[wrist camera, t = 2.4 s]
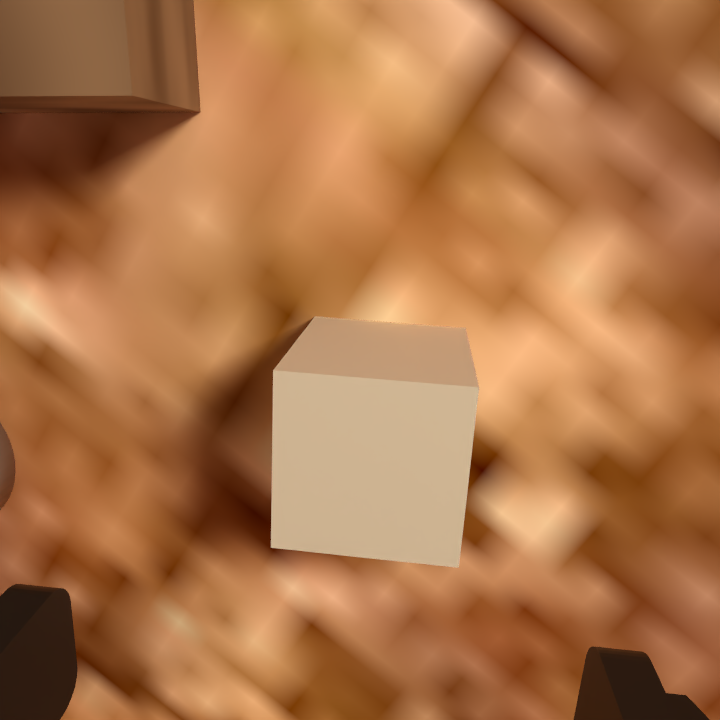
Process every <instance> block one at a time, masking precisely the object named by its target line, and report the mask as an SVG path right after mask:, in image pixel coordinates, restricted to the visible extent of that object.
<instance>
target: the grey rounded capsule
mask: <svg viewBox="0 0 720 720" xmlns="http://www.w3.org/2000/svg"><path fill="white" fill-rule="evenodd" d="M14 481H15V459H14V453H13V449H12V446H11V443H10V440H9V438H8V436H7V434H6V432H5V430H4V428H3V426H2V425H1V423H0V510H1V508H2V507H3V506H4V505H5V503H6V502H7V500H8V499H9V497H10V494H11V492H12V489H13V485H14Z"/></svg>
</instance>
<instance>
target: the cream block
mask: <svg viewBox="0 0 720 720" xmlns="http://www.w3.org/2000/svg"><path fill="white" fill-rule="evenodd" d="M478 392H479V385H478V380H477V376H476V371H475V367H474V362H473V358H472V353H471V349H470V345H469V340H468V336H467V331H466V328H462V327H448V326H435V325H422V324H408V323H395V322H382V321H368V320H355V319H342V318H328V317H314V318H313V320H312V321H311V322H310V323H309V325H308V326H307V327H306V329H305V330H304V331H303V332H302V334H301V335H300V336H299V338H298V339H297V340H296V341H295V343H294V344H293V345H292V347H291V348H290V349H289V351H288V352H287V353H286V354H285V356H284V357H283V358H282V360H281V361H280V362H279V363H278V365H277V366H276V367H275V369H274V370H273V421H272V502H271V548H279V549H288V550H298V551H307V552H316V553H326V554H335V555H344V556H354V557H363V558H372V559H382V560H391V561H401V562H410V563H419V564H429V565H438V566H447V567H457V568H459V561H460V552H461V543H462V534H463V525H464V517H465V508H466V499H467V490H468V481H469V472H470V463H471V454H472V446H473V437H474V428H475V419H476V410H477V401H478Z"/></svg>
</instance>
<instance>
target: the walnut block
mask: <svg viewBox="0 0 720 720" xmlns="http://www.w3.org/2000/svg"><path fill="white" fill-rule="evenodd" d="M89 112H200V97H199V81H198V66H197V50H196V34H195V18H194V2H193V0H0V113H89Z"/></svg>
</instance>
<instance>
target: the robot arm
mask: <svg viewBox="0 0 720 720" xmlns="http://www.w3.org/2000/svg"><path fill="white" fill-rule="evenodd" d="M76 678H77V659H76V649H75V639H74V630H73V620H72V610H71V601H70V596H69V594H68V592H67V591H66V590H65V589H61V588H52V587H43V586H33V585H24V584H15V585H13V586H11V587H10V588H8V589H7V590H6V591H5V592H4V593H3V594H2V595H1V596H0V720H60V719H61V717H62V716H63V714H64V712H65V711H66V709H67V707H68V705H69V702H70V700H71V697H72V694H73V691H74V688H75V683H76ZM574 720H709V719H708V718H707V716H706V715H705V714H704V713H703V712H702V711H701V710H700V709H699V708H698V707H697V706H696V705H695V704H694V703H693V702H692V701H691V700H690V699H689V698H688V697H687V696H686V695H678V694H669V693H665V690H664V688H663V686H662V684H661V682H660V679H659V677H658V675H657V673H656V671H655V669H654V666H653V664H652V662H651V660H650V658H649V657H648V656H647V654H646V653H644V652H640V651H630V650H621V649H611V648H602V647H590V648H589V650H588V652H587V655H586V659H585V665H584V670H583V675H582V680H581V685H580V690H579V695H578V701H577V706H576V711H575V716H574Z"/></svg>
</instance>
